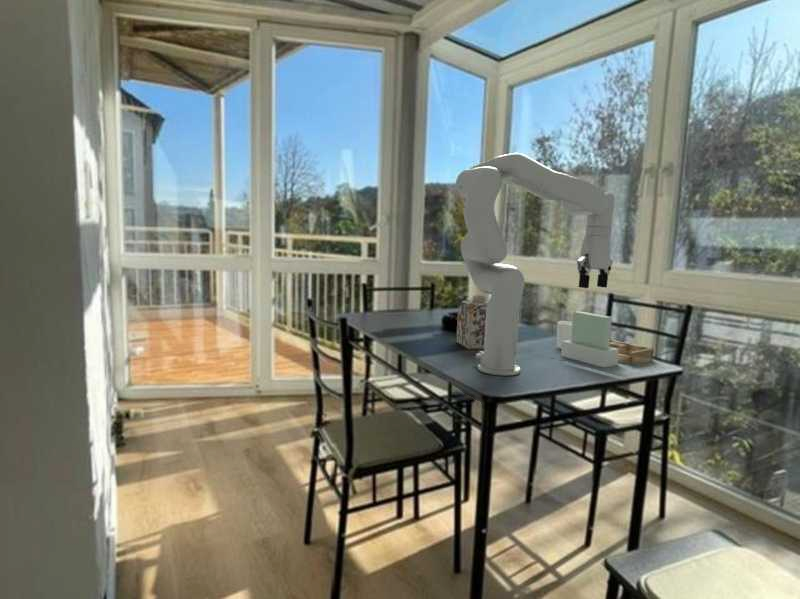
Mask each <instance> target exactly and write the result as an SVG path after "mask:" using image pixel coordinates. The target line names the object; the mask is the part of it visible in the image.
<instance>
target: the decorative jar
mask: <svg viewBox="0 0 800 599" xmlns="http://www.w3.org/2000/svg"><path fill="white" fill-rule="evenodd" d="M488 302H489V300H487V296H486V295H481V294H477V295H476V294H475V295H473V296H472V299H465V300H463V301H461V302H460V304H459V305H458V306H457V307H458V309H457V324H456V325H457V326H456V343H457V344H460V345H461V346H462V347H464V348H466V349H467V350H480V349H481V350H484V340H485V323H486V309H487V305H488Z"/></svg>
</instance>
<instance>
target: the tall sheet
mask: <svg viewBox="0 0 800 599" xmlns="http://www.w3.org/2000/svg"><path fill="white" fill-rule="evenodd" d="M612 320H613V317H612V316H608V315H601V314H596V313H591V312H586V311H585V312H584V311H579V310H578V311H573V312H572V321H573V322H572V334H571V343H576V344H580V345H584V346H588V347H593V348H597V349H601V350H609V342H610V340H611V332H612V331H611V329H612V322H613V321H612Z"/></svg>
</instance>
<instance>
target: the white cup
mask: <svg viewBox="0 0 800 599" xmlns="http://www.w3.org/2000/svg"><path fill="white" fill-rule="evenodd" d="M572 322H573V320H558V321H557V324H556V342H557V343H556V347H557V348H558V349H561V350H562V341H566V340H571V334H572Z"/></svg>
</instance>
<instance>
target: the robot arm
mask: <svg viewBox="0 0 800 599" xmlns="http://www.w3.org/2000/svg"><path fill="white" fill-rule="evenodd" d="M502 185H514V186H516V187H518V188H520V189H522V190H524V191H526V192H528V193H530V194H532V195H534V196H536V197H538V198H540V199H545V200H550V201H557V202H562V208H563V210H564V211H565V212H566V213H568V214H569V215H573V216H586V227H585V236H584V237H583V239H582V243H581V248H580V254H579V259H578V260H577V261H576V265H577V270H578V275H579V280H578V288H583V289H589V288H590V287H589V286H590V275H589V274H590V273H591V271H592V270H598V272H599V273H598V274H597V275H598V276H597V284H596V286H597V287H599V288H607V287H608V279H609V275H610V271H611V270H612V266H613V260H612V259H611V250H612V249H611V248H612V247H611V246H612V245H611V244H612V243H611V238H612V232H613V231H612V228H613V221H614V219H613V218H614V210H615V201H616V197H615V195H614V194H613V192H612V193H611V192H605V191H604V190H603V189H602V188H600V187H599V186H597V185H595V184H593V183H592V182H589V181H586V180H584V179H582V178H579V177H575V176H572V175H569V174H566V173H563V172H558V171H556V170H554V169H552V168H549V167H548V166H546V165H544V164H542V163H540V162H538V161H536V160H535V159H533V158H531V157H529V156H527V155H525V154H523V153H519V152H513V153H508V154H503V155H501V154H500V155H498V156H496V157H493V158H491V159H488V160H487V161H484V162H481V163H478V164H477V165H473V166H471V167H469V168H466V169H463V170H462V171H461V172H460V173H459V174H458V176H457V177H456V180H455V188H456V192H457V193H458V194H459V195H460V196H461V197H462V198H465V200H466V201H465V203H464V209H463V218H464V222H465V225H466V229H467V233H466V234H465V235H464V236H463V238H462V240H461V243H460V252H461V256H462V259H463V261H464V263H465V266H466V268H467V271H468V273H469V275H470V278H471V280H472V283H473V285H474V286H475V287H476V288H477V289H478V290H479V291H480V292H482V293H485V294H488V295H490V297H489V300H488V301H489V302H488V305H487V309H486V323H485V340H484V349H483V350H479V351H478V353H476V354H475V358H477V359H480V362H479V363H477V370H478V371H480V372H481V373H485V374H488V375H494V376H503V377H505V376H515V375H518V374H520V373H521V367H520V366H519V365H517V364H516V361H517V346H518V336H519V334H518V332H519V318H520V307H521V300H522V296H523V293H524V289H525V277H524V274H523V272H522V271H521V270H520V269H519V268H517V267H516V266H514V265H512V264H507V263H506V264H505V263H502V262H503V261H504V260H505V259H506V257H507V256H508V247H507V245H508V244H507V242H506V240H505V238H504V235H503V232H502V230H501V228H500V225H499V222H498V220H497V216H496V213H495V204H496V203H495V202H496V200H497V197H498V195H499V193H500V192H501V189H502Z"/></svg>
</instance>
